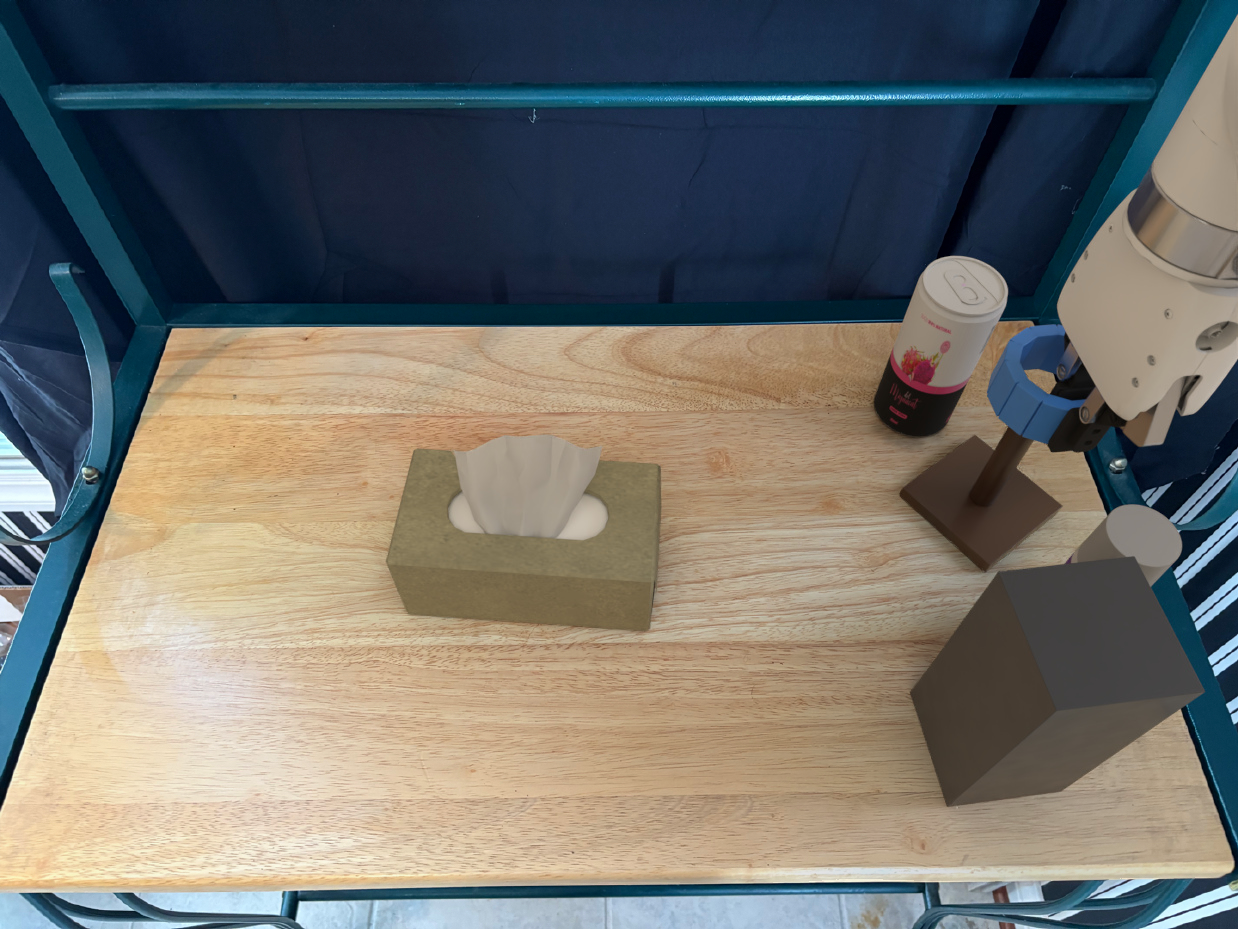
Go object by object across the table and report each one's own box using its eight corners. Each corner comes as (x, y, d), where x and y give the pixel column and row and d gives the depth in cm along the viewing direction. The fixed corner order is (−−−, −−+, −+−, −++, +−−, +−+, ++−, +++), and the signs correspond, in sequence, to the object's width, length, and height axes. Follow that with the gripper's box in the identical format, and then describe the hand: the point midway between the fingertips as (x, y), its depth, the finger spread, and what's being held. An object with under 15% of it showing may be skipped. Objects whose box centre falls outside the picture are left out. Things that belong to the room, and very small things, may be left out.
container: (1004, 613, 69) (1091, 505, 56) (1064, 607, 69) (1163, 499, 57) (1027, 671, 66) (1123, 572, 54) (1089, 665, 66) (1198, 565, 54)
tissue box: (659, 520, 73) (670, 395, 60) (653, 632, 67) (664, 520, 54) (427, 505, 74) (389, 377, 61) (402, 615, 68) (354, 499, 55)
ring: (1123, 409, 63) (1148, 375, 60) (1054, 463, 60) (1077, 430, 57) (1033, 344, 66) (1053, 308, 63) (964, 392, 63) (982, 357, 60)
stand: (1057, 513, 74) (1127, 421, 64) (985, 572, 71) (1047, 485, 61) (970, 442, 78) (1023, 345, 68) (898, 495, 75) (943, 401, 65)
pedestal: (1061, 791, 61) (1205, 692, 46) (947, 807, 60) (1056, 711, 46) (1016, 679, 66) (1134, 555, 51) (909, 692, 65) (998, 571, 50)
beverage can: (892, 447, 77) (946, 323, 65) (860, 390, 81) (905, 263, 69) (961, 431, 79) (1027, 306, 66) (926, 375, 82) (982, 247, 70)
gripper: (1373, 319, 42) (1171, 527, 57) (1205, 118, 51) (1068, 344, 66) (1220, 333, 41) (1056, 540, 56) (1077, 127, 50) (969, 353, 65)
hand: (1063, 433), depth 61 cm, fingers closed on ring, 1 cm apart
